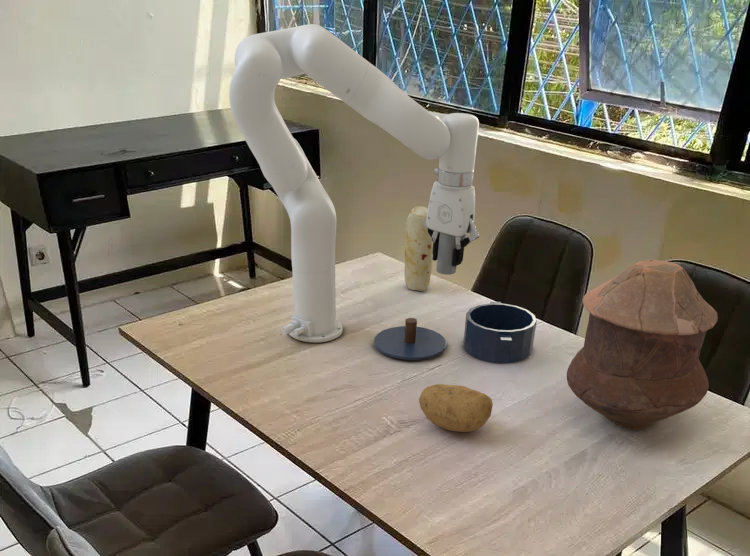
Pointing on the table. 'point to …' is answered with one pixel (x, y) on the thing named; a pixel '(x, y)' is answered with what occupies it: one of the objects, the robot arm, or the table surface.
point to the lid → (410, 342)
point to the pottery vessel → (643, 346)
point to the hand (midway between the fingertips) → (447, 261)
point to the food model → (418, 251)
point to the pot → (499, 333)
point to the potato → (455, 407)
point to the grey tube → (445, 254)
